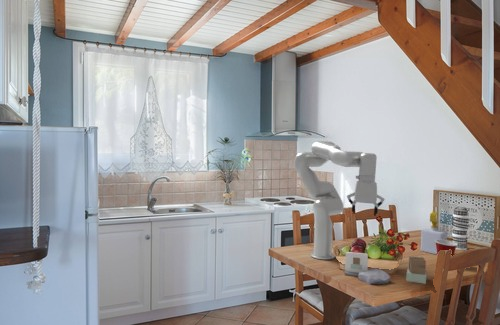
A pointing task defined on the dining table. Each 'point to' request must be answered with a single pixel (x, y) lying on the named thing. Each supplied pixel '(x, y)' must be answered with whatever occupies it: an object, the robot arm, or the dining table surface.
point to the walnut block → (417, 265)
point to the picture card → (355, 263)
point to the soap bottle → (431, 236)
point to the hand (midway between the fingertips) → (364, 214)
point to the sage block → (415, 277)
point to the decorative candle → (460, 227)
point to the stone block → (374, 276)
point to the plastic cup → (445, 245)
